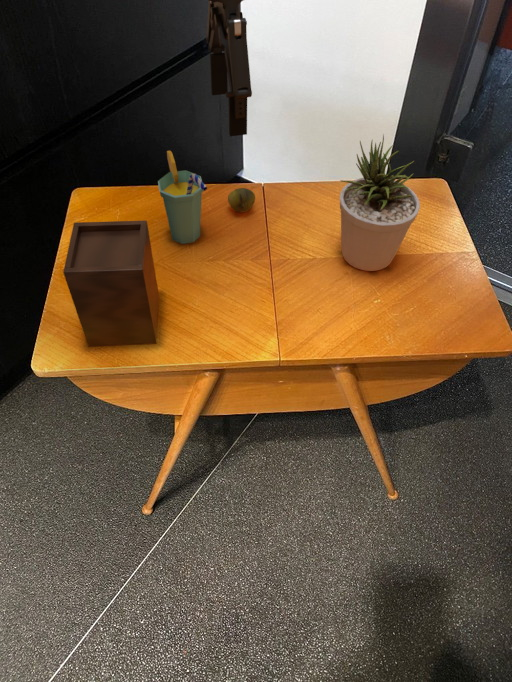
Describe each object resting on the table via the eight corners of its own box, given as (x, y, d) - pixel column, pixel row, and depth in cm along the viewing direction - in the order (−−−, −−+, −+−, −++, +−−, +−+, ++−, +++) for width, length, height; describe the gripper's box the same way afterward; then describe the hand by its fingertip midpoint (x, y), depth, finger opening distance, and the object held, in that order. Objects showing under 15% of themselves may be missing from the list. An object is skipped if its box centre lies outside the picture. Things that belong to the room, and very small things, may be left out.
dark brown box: (88, 346, 81) (62, 272, 69) (95, 298, 87) (73, 222, 75) (156, 343, 81) (142, 269, 70) (159, 295, 88) (146, 220, 76)
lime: (224, 209, 102) (224, 187, 98) (244, 200, 104) (244, 177, 100) (239, 221, 100) (239, 198, 96) (259, 211, 102) (260, 188, 98)
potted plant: (417, 245, 97) (450, 142, 82) (384, 291, 89) (414, 186, 74) (353, 220, 101) (374, 117, 86) (317, 261, 94) (332, 156, 78)
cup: (228, 250, 95) (226, 175, 83) (189, 267, 92) (182, 192, 80) (186, 209, 102) (179, 135, 91) (149, 224, 99) (137, 149, 88)
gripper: (278, -7, 67) (270, 150, 83) (231, -67, 82) (233, 76, 98) (217, -3, 65) (222, 156, 82) (182, -64, 81) (192, 80, 97)
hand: (228, 113), depth 90 cm, fingers open, 13 cm apart
